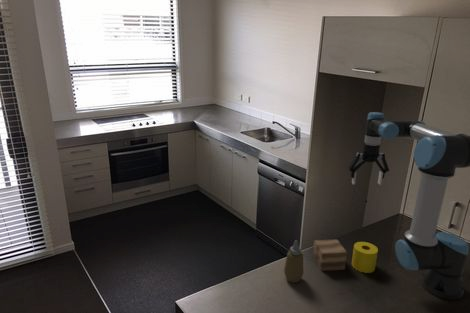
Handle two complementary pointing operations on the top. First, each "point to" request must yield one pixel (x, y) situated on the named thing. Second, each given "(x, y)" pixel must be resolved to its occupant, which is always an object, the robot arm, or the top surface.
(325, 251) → the tower block top
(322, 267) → the tower block bottom
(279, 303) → the top surface
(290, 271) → the squeeze bottle
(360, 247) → the yellow toilet paper roll
